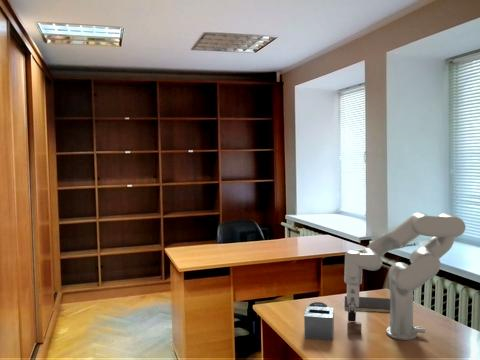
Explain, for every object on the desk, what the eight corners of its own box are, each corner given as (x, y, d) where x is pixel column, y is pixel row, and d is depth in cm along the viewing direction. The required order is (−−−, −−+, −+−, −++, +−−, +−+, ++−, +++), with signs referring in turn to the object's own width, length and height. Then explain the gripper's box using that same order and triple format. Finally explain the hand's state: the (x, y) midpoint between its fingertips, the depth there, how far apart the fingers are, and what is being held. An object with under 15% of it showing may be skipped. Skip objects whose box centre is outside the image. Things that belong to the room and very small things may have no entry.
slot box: (333, 329, 194) (333, 307, 194) (332, 340, 183) (332, 318, 182) (307, 326, 197) (307, 305, 197) (304, 338, 186) (304, 316, 185)
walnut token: (361, 333, 189) (361, 322, 189) (361, 335, 188) (361, 324, 187) (347, 332, 191) (347, 321, 191) (347, 334, 189) (347, 323, 189)
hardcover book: (392, 313, 211) (392, 309, 211) (344, 310, 217) (344, 306, 217) (389, 302, 227) (389, 298, 227) (344, 299, 232) (344, 295, 232)
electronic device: (326, 320, 208) (328, 305, 222) (324, 310, 207) (326, 295, 221) (307, 321, 211) (310, 306, 225) (305, 311, 210) (308, 297, 224)
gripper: (362, 286, 178) (360, 325, 180) (361, 274, 195) (360, 310, 196) (343, 284, 180) (342, 323, 181) (344, 272, 197) (343, 308, 198)
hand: (351, 316), depth 189 cm, fingers open, 9 cm apart
